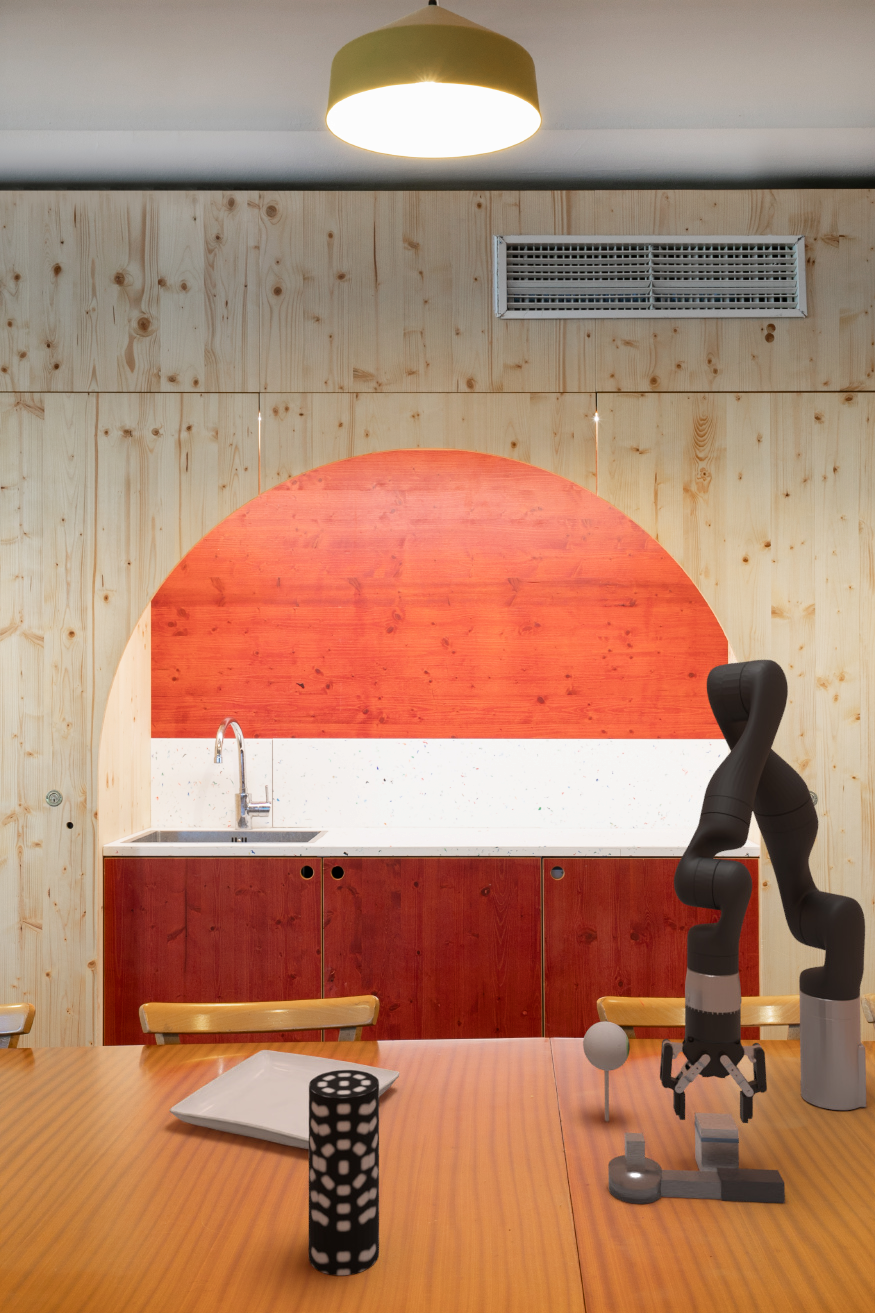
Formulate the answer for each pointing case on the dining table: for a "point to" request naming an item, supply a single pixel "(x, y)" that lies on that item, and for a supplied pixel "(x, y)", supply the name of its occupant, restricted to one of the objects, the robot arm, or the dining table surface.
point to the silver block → (716, 1141)
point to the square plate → (267, 1096)
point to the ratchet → (686, 1180)
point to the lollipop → (606, 1051)
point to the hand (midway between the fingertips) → (712, 1119)
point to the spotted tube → (343, 1171)
